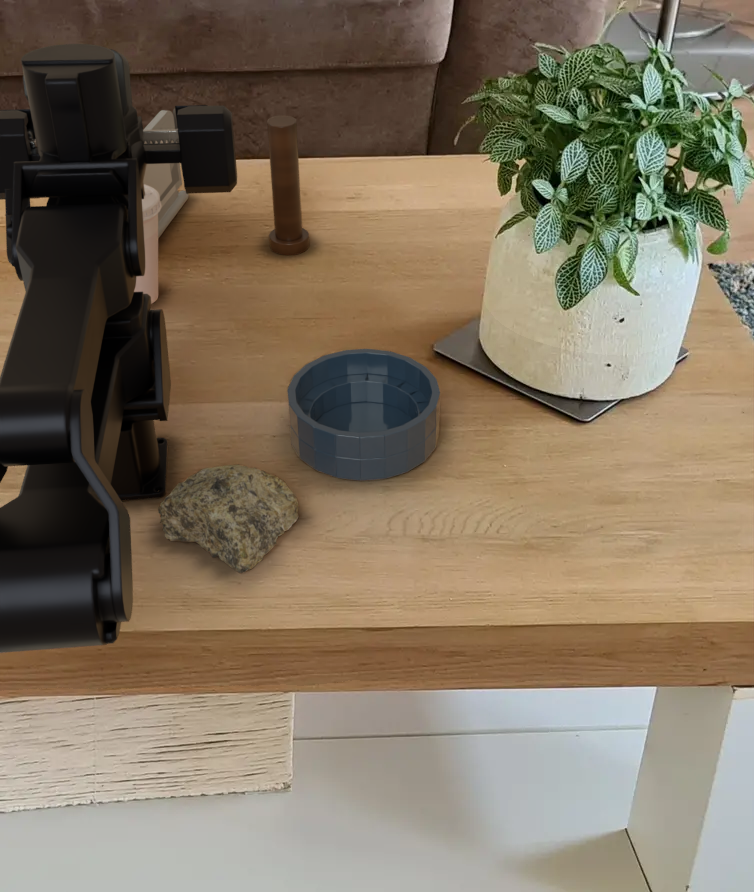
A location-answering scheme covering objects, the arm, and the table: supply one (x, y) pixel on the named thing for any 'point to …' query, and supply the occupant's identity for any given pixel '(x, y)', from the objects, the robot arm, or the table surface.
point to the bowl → (364, 414)
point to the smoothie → (150, 244)
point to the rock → (230, 513)
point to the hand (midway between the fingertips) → (119, 115)
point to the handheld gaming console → (165, 176)
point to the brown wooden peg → (285, 187)
